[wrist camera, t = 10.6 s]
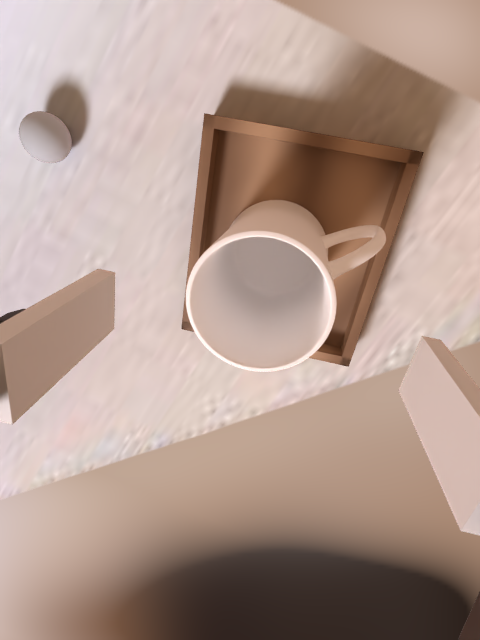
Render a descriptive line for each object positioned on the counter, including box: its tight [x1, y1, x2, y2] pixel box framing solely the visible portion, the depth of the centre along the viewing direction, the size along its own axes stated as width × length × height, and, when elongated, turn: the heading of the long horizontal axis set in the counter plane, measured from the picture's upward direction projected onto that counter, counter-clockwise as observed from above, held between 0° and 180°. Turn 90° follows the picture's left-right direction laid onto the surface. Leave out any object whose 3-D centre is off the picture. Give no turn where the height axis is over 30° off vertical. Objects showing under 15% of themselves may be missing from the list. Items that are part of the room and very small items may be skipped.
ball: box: [19, 111, 72, 163], centre depth 28 cm, size 4×4×4 cm
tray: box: [182, 113, 423, 367], centre depth 29 cm, size 15×17×2 cm
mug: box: [186, 200, 386, 372], centre depth 24 cm, size 12×8×12 cm
